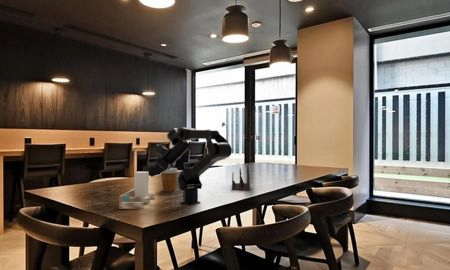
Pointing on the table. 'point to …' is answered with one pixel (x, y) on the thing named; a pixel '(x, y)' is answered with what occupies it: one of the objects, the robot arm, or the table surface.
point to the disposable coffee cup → (169, 179)
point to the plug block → (141, 184)
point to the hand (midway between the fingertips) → (153, 175)
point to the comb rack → (134, 200)
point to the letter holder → (241, 182)
